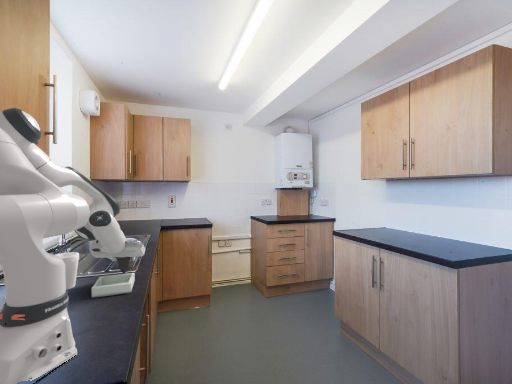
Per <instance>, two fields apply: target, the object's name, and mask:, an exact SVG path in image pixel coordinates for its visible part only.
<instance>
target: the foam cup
mask: <svg viewBox="0 0 512 384" xmlns="http://www.w3.org/2000/svg"><path fill="white" fill-rule="evenodd" d="M55 255H56V256H58V257H60V258H61V259H62V260H63V261H64V263H65V278H66V290H67V291H68V290H71V289H73V288H75V286H76V282H77V276H78V275H77V274H78V269H79V267H78V265H79V261H80V253H79V252H76V251H75V252H74V251H72V252H71V251H70V252H61V253H57V254H55Z"/></svg>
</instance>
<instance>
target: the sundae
mask: <svg viewBox="0 0 512 384" xmlns="http://www.w3.org/2000/svg"><path fill="white" fill-rule="evenodd" d="M115 258H116V261H117V266H118V269H119V270H120V271H121V273H122V274H127V273H126V271H127V270H128V269H129V267H130V262H131V259H130V258H131V257H115Z"/></svg>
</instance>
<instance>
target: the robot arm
mask: <svg viewBox="0 0 512 384" xmlns="http://www.w3.org/2000/svg"><path fill="white" fill-rule="evenodd" d="M41 136H42V130H41V128H40V125H39V123H38V121H37V120H36V119H35V117H34V116H32V115H31V114H29V113H27V112H26V111H24V110H23V109H22V108H17V107H12V108H8V109H6V108H5V109H4V110H2V111H1V112H0V267H1V269H2V273H3V277H4V279H3V281H4V287H5V300H6V301H5V303H3V307H2V310H1V311H0V384H17V383H18V382H21V381H28V380H30V381H32V380H34V379H36V378H38V377H40V376H42V375H43V374H45V373H47V372H48V371H50V370H52V369H53V368H55V367H57V366H59V365H61V364H62V363H64V362H66V361H67V362H69V361H70V360H72V359H73V358H75V357H76V356H77V355H78V349H77V347H76V340H75V338H74V336H73V329H72V324H71V320H70V316H69V312H68V307H69V301H70V300H69V299H70V296H69V292H68V289H67V290H66V278H65V263H64V261H63V260H62V259H61V258H60V257H58V256H56V254H54V253H50V252H47V251H46V249H45V247H44V243H43V240H44V239H47V238H53V237H57V236H63V235H68V234H70V233H72V232H75V234H77V236H79V237H80V238H81V239H83V240H87V241H91V242H90V245H89V247H88V248H89V251H90V253H91V255H92V257H94V258H95V259H99V258H101V259H102V258H103V259H104V258H105V259H106V258H107V259H109V260H111V261H112V262H116V261H117V259H116V258H115V257H130V261H135V260H136V257H144V255H145V254H146V253H145V252H146V247H145V245H144V244H143V242H141V241H140V240H127V237H126V236H125V234H124V232H123V230H122V229H121V225H120V224H119V222H118V221H117V219H116V218H115V217H117V216H118V215H119V214H120V211H121V204H120V202H119V201H118V199H116V198H114V197H113V196H112V195H110V194H109V193H107V192H106V191H104V190H103V189H102V188H100V187H99V186H98V185H96V184H95V183H94V182H93V181H92V180H90V179H89V178H88V177H86V176H85V175H84V174H83V173H81V172H79V170H78V169H75V168H73V167H71V166H63V165H60V164H58V163H57V162H55V161H54V160H53V159H52V158H51V157H50V156H49V155H48V154H47V153H46V152H45V151H43V150H42V149H41V148H40V147H39V146H38V145H39V141H40V139H41V138H42V137H41ZM66 186H67V187H68V186H75V187H77V189H80V190H81V191H82V192H83V193H85V194H86V195H88V196H89V197H90V198H91V199H92V202H91V203H90V204H88V202H87V201H86V199H85V198H84V197H82V196H80V195H77V194H74V193H71V192H69V191H67V190H65V189H63V187H66ZM75 355H76V356H75ZM74 356H75V357H74ZM72 357H73V358H72ZM71 358H72V359H71ZM69 359H70V360H69ZM68 360H69V361H68ZM67 362H66V363H67ZM30 378H32V379H30Z"/></svg>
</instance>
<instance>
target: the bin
mask: <svg viewBox="0 0 512 384" xmlns="http://www.w3.org/2000/svg"><path fill="white" fill-rule="evenodd" d="M135 276H136V274H135V272H131V273H128V272H127V273H126V274H121V273H120V274H112V275H111V274H110V275H102V276H99V277H98V279H96V282H95V283H94V284H93V286H92V287H91V298H92V299H93V298H99V297H101V298H102V297H106V296H115V295H123V294H131V293H132V290H133V287H134V284H135V282H136V278H135Z"/></svg>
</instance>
